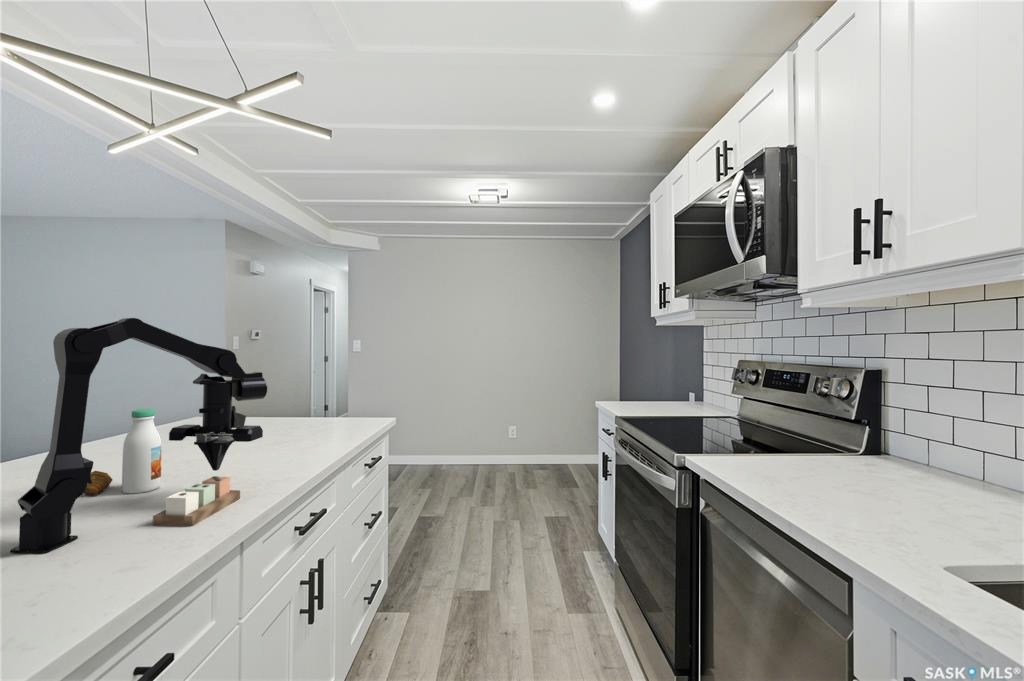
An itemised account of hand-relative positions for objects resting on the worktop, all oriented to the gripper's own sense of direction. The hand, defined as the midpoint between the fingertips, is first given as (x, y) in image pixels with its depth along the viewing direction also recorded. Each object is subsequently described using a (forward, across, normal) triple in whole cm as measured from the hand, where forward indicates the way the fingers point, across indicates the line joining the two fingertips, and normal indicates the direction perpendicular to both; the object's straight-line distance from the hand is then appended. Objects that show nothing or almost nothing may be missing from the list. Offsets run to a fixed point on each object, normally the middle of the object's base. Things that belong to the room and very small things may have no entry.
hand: (216, 470), depth 110 cm
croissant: (+8, +35, -8) cm, 37 cm away
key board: (+8, 0, +6) cm, 9 cm away
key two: (+6, 0, +6) cm, 8 cm away
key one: (+6, 0, +11) cm, 13 cm away
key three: (+6, 0, 0) cm, 6 cm away
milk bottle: (+8, +24, -9) cm, 27 cm away
